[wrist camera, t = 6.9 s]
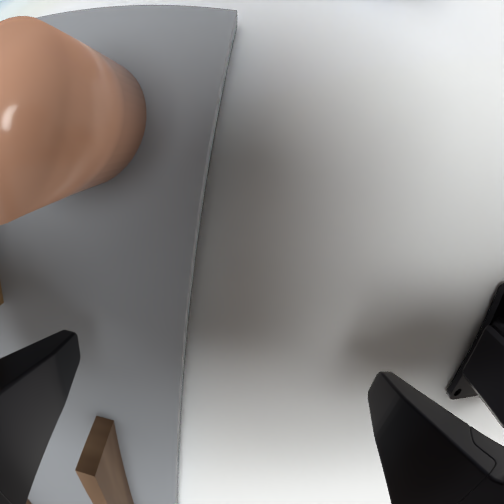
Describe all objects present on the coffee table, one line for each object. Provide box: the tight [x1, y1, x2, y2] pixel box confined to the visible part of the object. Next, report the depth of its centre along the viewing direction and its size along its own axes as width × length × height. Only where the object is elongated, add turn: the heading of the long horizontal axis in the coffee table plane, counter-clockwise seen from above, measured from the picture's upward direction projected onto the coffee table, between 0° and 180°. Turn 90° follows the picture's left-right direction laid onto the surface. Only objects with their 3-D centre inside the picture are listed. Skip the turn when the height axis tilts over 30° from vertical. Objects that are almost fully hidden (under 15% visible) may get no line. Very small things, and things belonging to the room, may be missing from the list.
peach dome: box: [0, 16, 146, 225], centre depth 5 cm, size 4×4×4 cm
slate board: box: [0, 5, 237, 504], centre depth 12 cm, size 17×36×1 cm, turn 170°
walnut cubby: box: [26, 416, 134, 504], centre depth 12 cm, size 13×21×3 cm, turn 170°
